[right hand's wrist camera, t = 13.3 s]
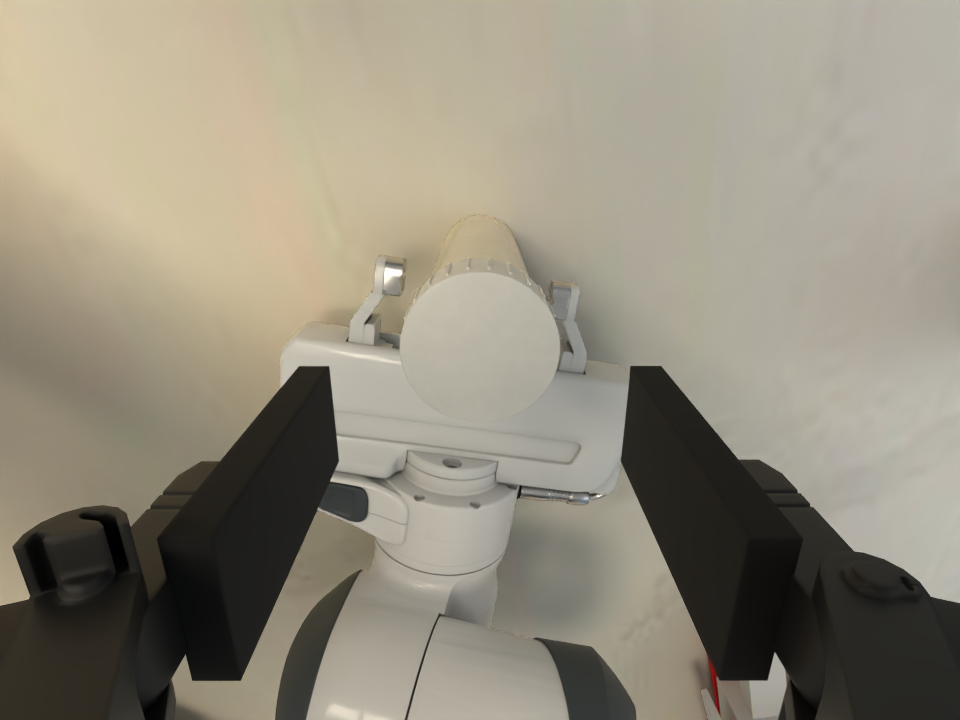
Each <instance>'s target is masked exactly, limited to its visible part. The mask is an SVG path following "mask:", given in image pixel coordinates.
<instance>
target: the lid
mask: <svg viewBox="0 0 960 720" xmlns="http://www.w3.org/2000/svg"><path fill="white" fill-rule="evenodd" d="M412 301H413V303H412V304H409V306H408V309H407V311H406V313H405V315H404V318H403V319H404V320H405V322H404V324H403V328H402V331H401V334H400V336H399V339H400V357H401V363H402V367H403V370H404V373H405V375H406V377H407V380H408V382H409V383H410V385H411V387H412V388H413V390H414V391H415V392H416V393H417V395H418V396H419V397H420V398H421V399H422V400H423V401H424V402H425V403H426V404H428V405H429V406H430V407H432V408H433V409H434V410H436V411H438V412H440V413H441V414H443V415H446V416H448V417H450V418H453V419H457V420H460V421H465V422H472V423H487V422H495V421H500V420H503V419H507V418H510V417H512V416H514V415H516V414H519V413H520V412H522V411H524V410H525V409H527V408H528V407H530V406H531V405H532V404H533V403H535V402H536V401H537V400H538V399H539V398H540V397H541V396H542V395H543V393H544V392H545V391H546V389H547V388H548V387H549V385H550V383H551V381H552V380H553V378H554V375H555V373H556V370H557V367H558V363H559V357H560V337H561V335H560V332H559V330H558V327H557V325H556V321H555V319H554V318H555V317H556V315H555V313H554V311H553V308H552V306H551V304H550V302H549V301H548V302H547V301H546V297H545V295H544V293H543V290H542V288H541V286H540V285H538V286H537V285H536V283H535V282H534V281H533V280H532V279H531V278H530V277H529V276H528V273H527V272H526V271H525V272H522V271H521V270H519V269H518V268H516V267H514V266H512V265H510V262H507V263H504V262H501V261H497V260H492V259H491V258H490V257H487V259H480V258H478V259H470V257H468V258H467V260H463V261H459V262H456V263H453V264H451V263H448V265H447V266H446V267H444V268H443V269H441V270H439V271H438V272H436V273H435V274H434V273H432V274H431V275H430V278H429V279H428V280H427V281H426V282H425V283H424V285H423V286H422V287H418V289H417V291H416V294H415V296H414V298H413V300H412Z"/></svg>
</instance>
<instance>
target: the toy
mask: <svg viewBox="0 0 960 720" xmlns="http://www.w3.org/2000/svg"><path fill="white" fill-rule="evenodd" d="M708 657H709V656H708ZM709 664H710V671H711V677H712V684H713V690H714V697H715V703H716V706H715V704H714V702H713V700H712V698H711V696H710V694H709V692H708V690H707V688H706V689H702V690H700V691H701V695H702V699H703V703H704V706H705V710H706V714H707V718H708V720H778V717H779V713H780V709H781V705H782V702H783V698H784V694H785V691H786V687H787V683H788V680H789V675H788V673H787V672H786V670H785V668H784V667H783V665H782V663H781V661H780V660H779V658H778V656H777V655H776V653H774V657H773V661H772V665H771V669H770V673H769V677H768V681H719V679H718V676H717V674H716V672H715V670H714V668H713V665H712V663H711V661H710V659H709Z"/></svg>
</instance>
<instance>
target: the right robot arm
mask: <svg viewBox="0 0 960 720" xmlns="http://www.w3.org/2000/svg"><path fill="white" fill-rule="evenodd" d="M338 462H339V455H338V445H337V436H336V426H335V416H334V407H333V397H332V387H331V378H330V368H329V366H299V367H298V368H297V369H296V370H295V372H294V373H293V374H292V375H291V376H290V378H289V379H288V380H287V381H286V382H285V384H284V385H283V386H282V387H281V388H280V390H279V391H278V392H277V393H276V395H275V396H274V397H273V398H272V399H271V401H270V402H269V403H268V404H267V405H266V407H265V408H264V409H263V410H262V411H261V413H260V414H259V415H258V416H257V417H256V419H255V420H254V421H253V422H252V424H251V425H250V426H249V427H248V428H247V430H246V431H245V432H244V433H243V434H242V436H241V437H240V438H239V439H238V440H237V442H236V443H235V444H234V445H233V447H232V448H231V449H230V450H229V451H228V453H227V454H226V455H225V456H224V457H223V459H222V460H221V461H220V462H200V463H198V464H197V465H195V466H193V467H192V468H190V469H188V470H187V471H185V472H183V473H182V474H180V475H178V476H177V478H176V479H175V480H174V481H173V482H172V483H171V484H170V485H169V486H168V487H167V488H166V489H165V491H164V492H163V495H160V496H159V497H158V498H157V499H156V500H155V501H154V503H153V504H152V505H151V508H150V509H147V510H146V511H145V512H144V513H143V515H142V516H141V517H140V518H139V519H138V520H137V521H136V522H135V523H134V524H133V525H132V527H131V528H130V524H129V520H128V517H127V514H126V513H125V512H124V511H122V510H121V509H119V508H117V507H110V506H103V505H102V506H93V507H83V508H80V509H76V510H72V511H69V512H65V513H62V514H59V515H57V516H55V517H53V518H50V519H48V520H46V521H44V522H41V523H40V524H38V525H37V526H35V527H34V528H32V529H31V530H29V531H28V532H26V533H25V534H23V535H22V537H21V538H20V539H19V540H18V541H17V542H16V543H15V545H14V546H13V550H14V553H15V555H16V558H17V561H18V564H19V566H20V569H21V572H22V574H23V577H24V580H25V583H26V585H27V588H28V591H29V594H30V598H29V600H25V601H21V602H16V603H11V604H7V605H2V606H0V720H174V713H175V704H176V698H175V692H174V687H173V683H172V680H171V678H172V676H173V675H174V673H175V671H176V670H177V668H178V666H179V664H180V663H181V661H182V659H183V658H184V656H185V654H186V657H187V661H188V665H189V669H190V673H191V677H192V681H241V679H242V676H243V674H244V672H245V670H246V668H247V665H248V663H249V661H250V659H251V656H252V654H253V652H254V650H255V648H256V645H257V643H258V641H259V639H260V636H261V634H262V632H263V630H264V627H265V625H266V623H267V621H268V619H269V616H270V614H271V612H272V610H273V607H274V605H275V603H276V601H277V598H278V596H279V594H280V592H281V590H282V587H283V585H284V583H285V581H286V578H287V576H288V574H289V572H290V569H291V567H292V565H293V563H294V561H295V558H296V556H297V554H298V552H299V549H300V547H301V545H302V543H303V541H304V538H305V536H306V534H307V532H308V529H309V527H310V525H311V523H312V520H313V518H314V516H315V514H316V512H317V509H318V507H319V505H320V503H321V500H322V498H323V496H324V494H325V491H326V489H327V487H328V485H329V483H330V480H331V478H332V476H333V474H334V471H335V469H336V467H337V465H338ZM621 462H622V465H623V467H624V469H625V471H626V474H627V476H628V478H629V480H630V483H631V485H632V487H633V489H634V491H635V494H636V496H637V498H638V500H639V503H640V505H641V507H642V509H643V512H644V514H645V516H646V518H647V520H648V523H649V525H650V527H651V529H652V532H653V534H654V536H655V538H656V541H657V543H658V545H659V547H660V549H661V552H662V554H663V556H664V558H665V561H666V563H667V565H668V567H669V569H670V572H671V574H672V576H673V578H674V581H675V583H676V585H677V587H678V590H679V592H680V594H681V596H682V598H683V601H684V603H685V605H686V607H687V610H688V612H689V614H690V616H691V619H692V621H693V623H694V625H695V627H696V630H697V632H698V634H699V636H700V639H701V641H702V643H703V645H704V648H705V650H706V652H707V654H708V656H709V659H710V661H711V663H712V665H713V668H714V670H715V672H716V674H717V676H718V679H719V681H768V677H769V673H770V669H771V665H772V661H773V657H774V653H776V655H777V656H778V658H779V660H780V661H781V663H782V665H783V667H784V668H785V670H786V672H787V673H788V675H789V680H788V683H787V687H786V691H785V694H784V698H783V702H782V705H781V709H780V713H779V717H778V720H960V603H956V602H951V601H946V600H942V599H937V598H933V597H930V595H929V594H928V592H927V591H926V590H925V588H924V587H923V586H922V584H921V583H920V582H919V581H918V580H917V579H915V578H914V577H913V576H911V575H910V574H909V573H907V572H906V571H905V570H904V569H902V568H900V567H898V566H896V565H894V564H892V563H890V562H888V561H886V560H884V559H881V558H878V557H875V556H872V555H869V554H865V553H861V552H854V551H853V550H852V549H851V548H850V547H849V545H848V544H847V543H846V542H845V541H844V540H843V539H842V538H841V537H840V536H839V535H838V534H837V533H836V531H835V530H834V529H833V528H832V527H831V526H830V525H829V524H828V523H827V522H826V521H825V520H824V518H823V517H822V516H821V515H820V514H819V513H818V512H817V511H816V510H815V509H814V508H813V507H810V503H809V502H808V501H807V500H806V499H805V498H804V497H803V496H802V495H801V494H800V493H797V489H796V488H795V487H794V486H793V485H792V484H791V483H790V482H789V481H788V480H787V478H786V477H785V476H784V475H783V474H782V473H780V472H778V471H777V470H775V469H773V468H772V467H770V466H768V465H767V464H765V463H763V462H762V461H760V460H738V459H737V457H736V456H735V455H734V454H733V453H732V451H731V450H730V449H729V448H728V447H727V445H726V444H725V443H724V442H723V440H722V439H721V438H720V437H719V436H718V434H717V433H716V432H715V431H714V430H713V428H712V427H711V426H710V425H709V424H708V422H707V421H706V420H705V419H704V418H703V416H702V415H701V414H700V413H699V411H698V410H697V409H696V408H695V407H694V405H693V404H692V403H691V402H690V401H689V399H688V398H687V397H686V396H685V395H684V393H683V392H682V391H681V390H680V388H679V387H678V386H677V385H676V384H675V382H674V381H673V380H672V379H671V378H670V376H669V375H668V374H667V373H666V372H665V370H664V369H663V368H662V367H661V366H631V368H630V378H629V387H628V397H627V407H626V416H625V426H624V436H623V445H622V455H621Z"/></svg>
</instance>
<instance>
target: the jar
mask: <svg viewBox="0 0 960 720" xmlns="http://www.w3.org/2000/svg"><path fill="white" fill-rule="evenodd" d="M468 257H470V259H478V258H480V259H487V257H490V258H491V259H492V260H497V261H501V262H504V263H507V262H510V265H512V266H514V267H516V268H518V269H519V270H521V271H522V272H525V271H526V272H527V269H526V267H525V264H524V261H523V259H522V256H521V253H520V251H519V248H518V246H517V243H516V240H515V238H514V236H513V234H512V232H511V231H510V229H509V228H508V227H507V226H506V225H505V224H504V223H502V222H501V221H499V220H498V219H496V218H493V217H490V216H485V215H474V216H470V217H467V218H464V219H462V220H461V221H459V222H458V223H456V224H455V225H454V226H453V227H452V228H451V229H450V231H449V232H448V234H447V236H446V238H445V240H444V243H443V246H442V248H441V251H440V253H439V256H438V259H437V261H436V264H435V267H434V269H433V272H432V273H434V274H435V273H436V272H438V271H439V270H441V269H443V268H444V267H446V266H447V265H448V263H451V264H453V263H456V262H459V261H463V260H467V258H468ZM527 273H528V272H527ZM528 276H529V274H528Z"/></svg>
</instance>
